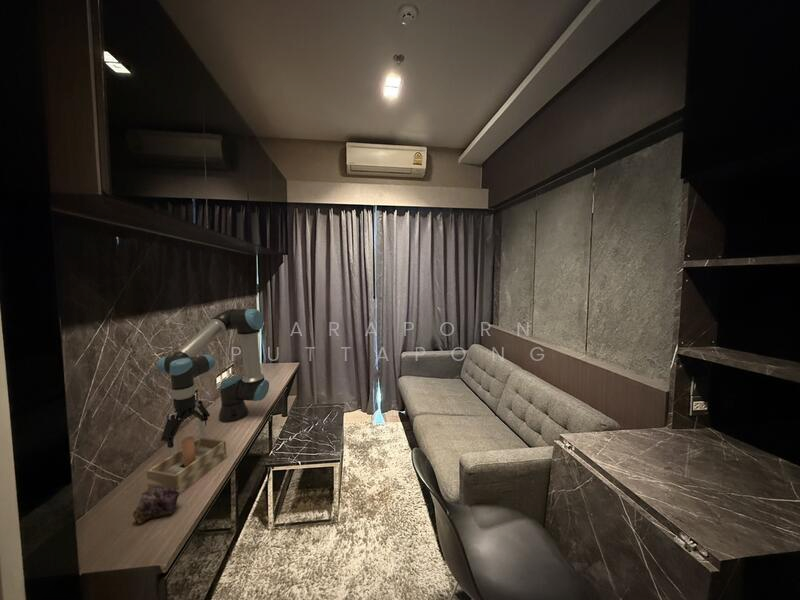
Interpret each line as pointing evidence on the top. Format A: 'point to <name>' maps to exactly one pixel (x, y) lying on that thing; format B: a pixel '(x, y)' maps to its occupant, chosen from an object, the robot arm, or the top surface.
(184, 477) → the box
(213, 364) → the robot arm
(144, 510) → the rock
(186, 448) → the peg
